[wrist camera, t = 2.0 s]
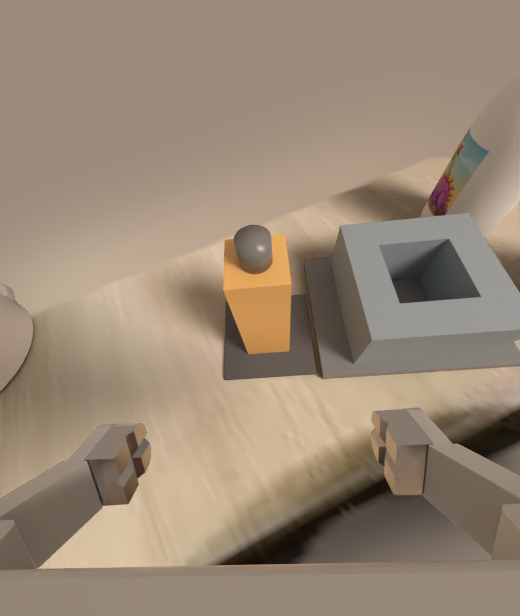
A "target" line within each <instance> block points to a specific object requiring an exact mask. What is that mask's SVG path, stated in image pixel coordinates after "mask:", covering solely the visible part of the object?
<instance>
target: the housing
mask: <svg viewBox="0 0 520 616" xmlns="http://www.w3.org/2000/svg"><path fill="white" fill-rule="evenodd" d="M304 268H305V274H306V280H307V286H308V293H309V299H310V305H311V311H312V317H313V323H314V330H315V336H316V342H317V348H318V354H319V360H320V367H321V373H322V379H329V378H344V377H359V376H375V375H390V374H405V373H421V372H436V371H451V370H467V369H482V368H497V367H513V366H520V352H519V350H518V348H517V346H516V345H515V343H514V341H516V340H519V339H520V292H519V291H518V289H517V287H516V286H515V284H514V283H513V281H512V280H511V278H510V277H509V275H508V273H507V272H506V270H505V269H504V267H503V266H502V264H501V263H500V261H499V259H498V258H497V256H496V255H495V253H494V252H493V250H492V249H491V247H490V246H489V244H488V242H487V241H486V239H485V238H484V236H483V235H482V233H481V232H480V230H479V228H478V227H477V225H476V224H475V222H474V221H473V219H472V218H471V216H470V214H469V213H463V214H453V215H443V216H433V217H423V218H412V219H402V220H392V221H382V222H372V223H362V224H351V225H341V226H340V229H339V233H338V238H337V242H336V246H335V250H334V254H333V258H324V259H313V260H304Z"/></svg>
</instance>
